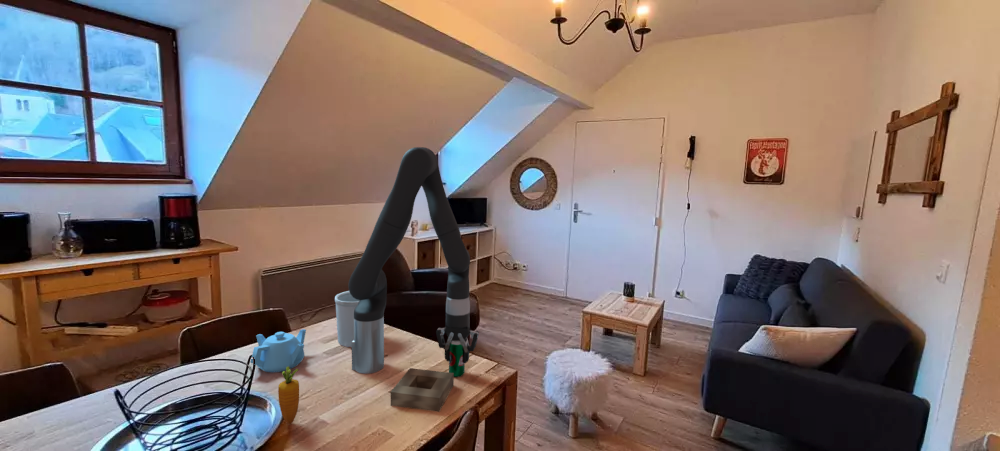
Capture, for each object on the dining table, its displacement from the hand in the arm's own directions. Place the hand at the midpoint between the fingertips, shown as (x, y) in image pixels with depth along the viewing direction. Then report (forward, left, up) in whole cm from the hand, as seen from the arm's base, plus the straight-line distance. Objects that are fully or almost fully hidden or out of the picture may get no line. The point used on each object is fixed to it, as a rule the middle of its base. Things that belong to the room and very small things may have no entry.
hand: (457, 361), depth 129 cm
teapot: (-58, -6, -5) cm, 59 cm away
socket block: (-6, -14, -4) cm, 16 cm away
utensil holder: (-44, +17, -5) cm, 47 cm away
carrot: (-34, -34, -5) cm, 48 cm away
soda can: (0, 0, -5) cm, 5 cm away
